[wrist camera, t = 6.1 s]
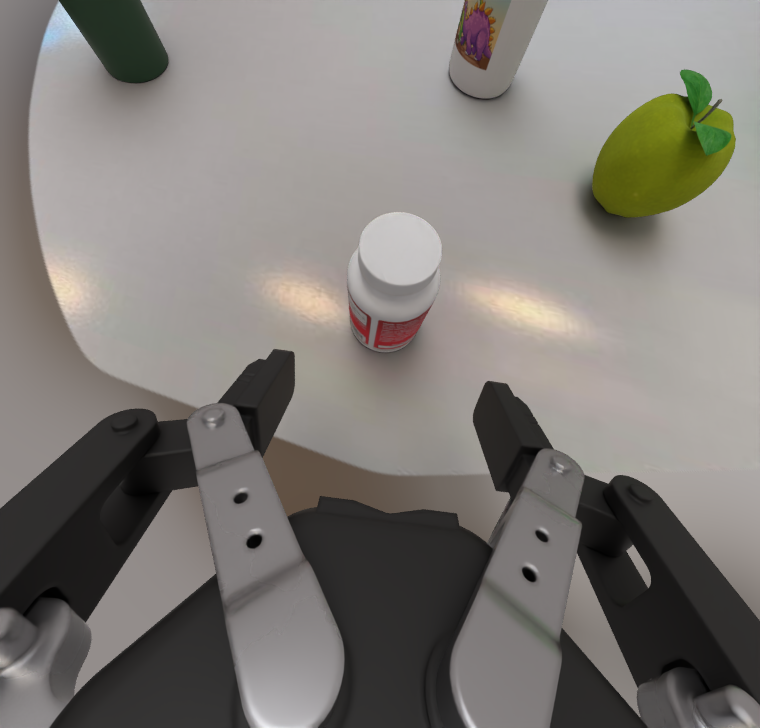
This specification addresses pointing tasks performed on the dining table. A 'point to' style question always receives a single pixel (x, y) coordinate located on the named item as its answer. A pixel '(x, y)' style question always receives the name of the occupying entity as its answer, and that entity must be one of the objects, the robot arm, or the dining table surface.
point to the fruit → (664, 152)
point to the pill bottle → (393, 280)
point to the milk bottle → (492, 44)
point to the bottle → (120, 37)
